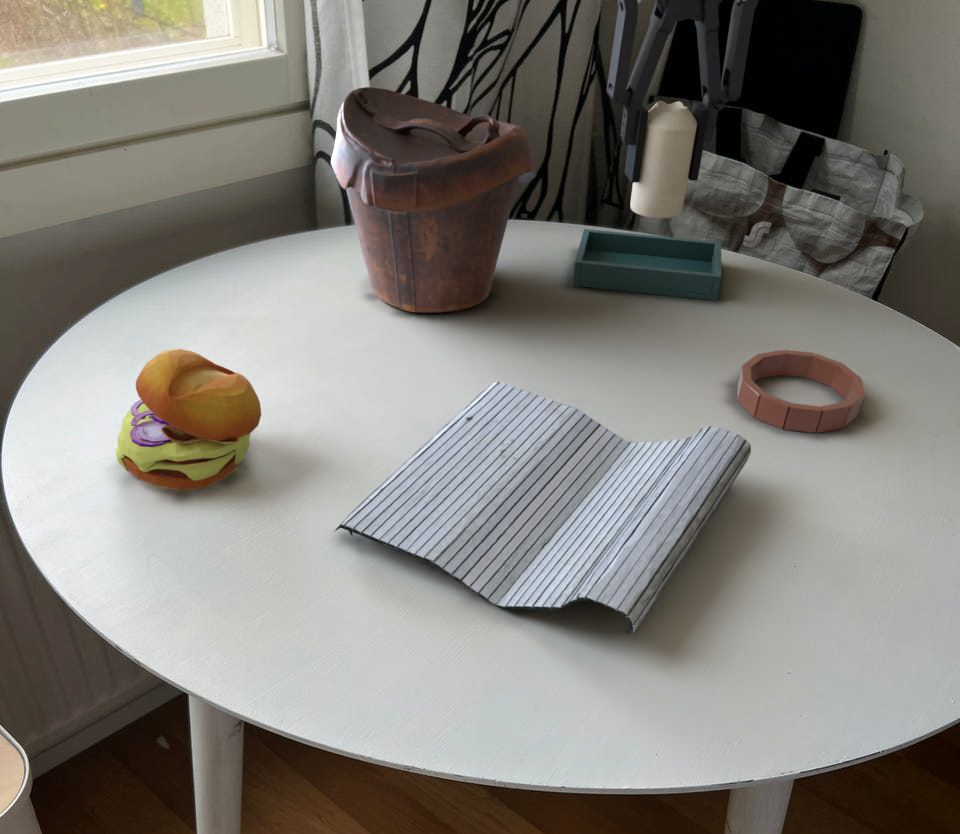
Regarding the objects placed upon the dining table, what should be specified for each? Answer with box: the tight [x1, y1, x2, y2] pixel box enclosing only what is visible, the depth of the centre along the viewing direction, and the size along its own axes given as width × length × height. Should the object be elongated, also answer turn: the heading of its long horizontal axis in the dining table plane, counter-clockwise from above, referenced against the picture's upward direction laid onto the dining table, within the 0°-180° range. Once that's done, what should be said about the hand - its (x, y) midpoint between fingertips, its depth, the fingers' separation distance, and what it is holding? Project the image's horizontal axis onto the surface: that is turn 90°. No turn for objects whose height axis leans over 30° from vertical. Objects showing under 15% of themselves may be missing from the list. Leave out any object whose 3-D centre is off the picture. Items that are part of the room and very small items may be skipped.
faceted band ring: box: [736, 349, 866, 434], centre depth 86 cm, size 11×11×2 cm
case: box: [330, 86, 537, 314], centre depth 95 cm, size 18×20×18 cm
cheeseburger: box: [115, 348, 262, 491], centre depth 74 cm, size 10×11×10 cm
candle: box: [630, 100, 697, 219], centre depth 97 cm, size 6×6×10 cm
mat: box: [333, 381, 752, 634], centre depth 72 cm, size 23×24×5 cm
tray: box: [572, 228, 722, 302], centre depth 104 cm, size 15×9×3 cm, turn 80°
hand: (660, 176), depth 98 cm, fingers closed on candle, 5 cm apart
